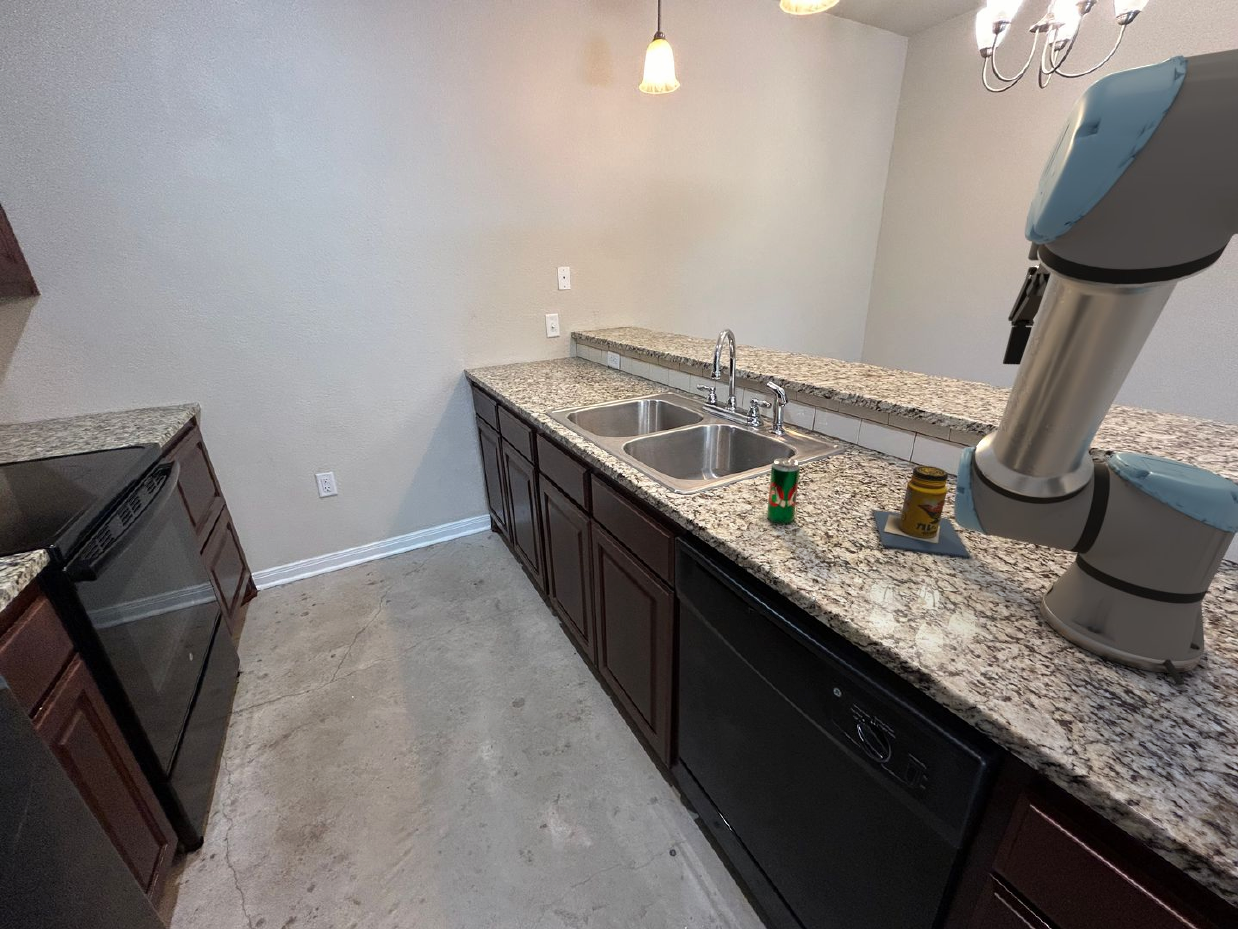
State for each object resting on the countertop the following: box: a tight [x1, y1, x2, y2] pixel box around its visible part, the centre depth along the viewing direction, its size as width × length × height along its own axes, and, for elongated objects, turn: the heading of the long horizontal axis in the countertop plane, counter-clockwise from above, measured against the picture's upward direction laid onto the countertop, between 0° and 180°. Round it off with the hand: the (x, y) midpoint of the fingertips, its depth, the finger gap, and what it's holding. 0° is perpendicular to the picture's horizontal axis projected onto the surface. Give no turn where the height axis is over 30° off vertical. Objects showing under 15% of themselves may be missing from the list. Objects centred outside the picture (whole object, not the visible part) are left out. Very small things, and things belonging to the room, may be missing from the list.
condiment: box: [884, 465, 949, 543], centre depth 89 cm, size 7×8×12 cm
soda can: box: [766, 457, 801, 525], centre depth 95 cm, size 5×5×12 cm
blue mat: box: [872, 510, 971, 559], centre depth 91 cm, size 14×13×1 cm
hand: (1027, 371), depth 84 cm, fingers open, 13 cm apart
